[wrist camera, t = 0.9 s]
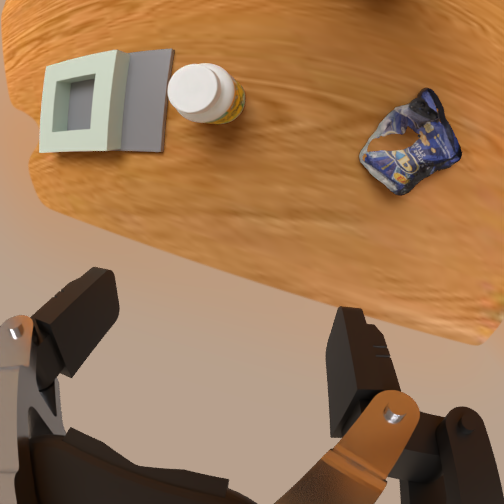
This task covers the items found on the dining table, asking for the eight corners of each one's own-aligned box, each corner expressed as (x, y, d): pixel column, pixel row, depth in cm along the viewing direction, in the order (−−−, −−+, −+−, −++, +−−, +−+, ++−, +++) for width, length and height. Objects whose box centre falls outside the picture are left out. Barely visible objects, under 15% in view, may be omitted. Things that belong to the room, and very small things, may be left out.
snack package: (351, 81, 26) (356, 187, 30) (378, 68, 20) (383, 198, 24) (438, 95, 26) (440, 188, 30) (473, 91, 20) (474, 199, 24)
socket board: (63, 67, 27) (45, 65, 23) (174, 50, 26) (160, 41, 22) (56, 151, 32) (38, 154, 28) (163, 151, 30) (148, 154, 27)
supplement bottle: (220, 67, 26) (192, 42, 17) (257, 99, 27) (242, 83, 18) (186, 103, 28) (146, 93, 19) (221, 135, 29) (192, 135, 20)
